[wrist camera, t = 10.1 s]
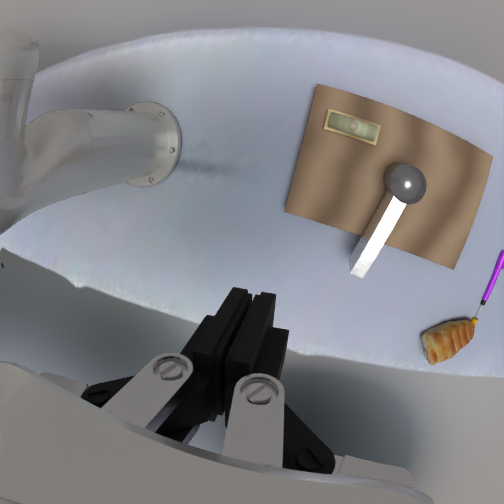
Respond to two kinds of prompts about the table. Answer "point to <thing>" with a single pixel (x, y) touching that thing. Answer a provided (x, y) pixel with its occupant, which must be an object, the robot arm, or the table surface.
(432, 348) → the pastry
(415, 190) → the ball-ended lever
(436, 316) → the table surface
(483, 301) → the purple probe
